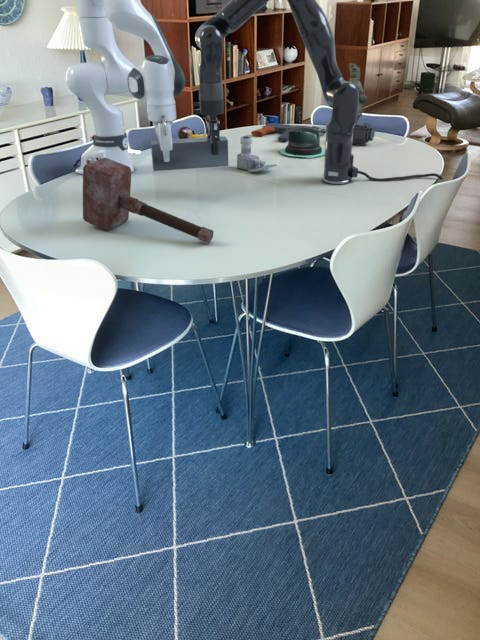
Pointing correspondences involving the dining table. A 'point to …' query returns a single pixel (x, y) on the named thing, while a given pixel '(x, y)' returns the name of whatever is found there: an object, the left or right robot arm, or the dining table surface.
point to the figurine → (188, 133)
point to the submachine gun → (281, 130)
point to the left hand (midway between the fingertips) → (165, 158)
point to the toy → (363, 134)
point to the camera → (249, 157)
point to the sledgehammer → (123, 200)
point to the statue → (356, 81)
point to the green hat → (303, 143)
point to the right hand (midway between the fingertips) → (213, 152)
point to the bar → (190, 154)
